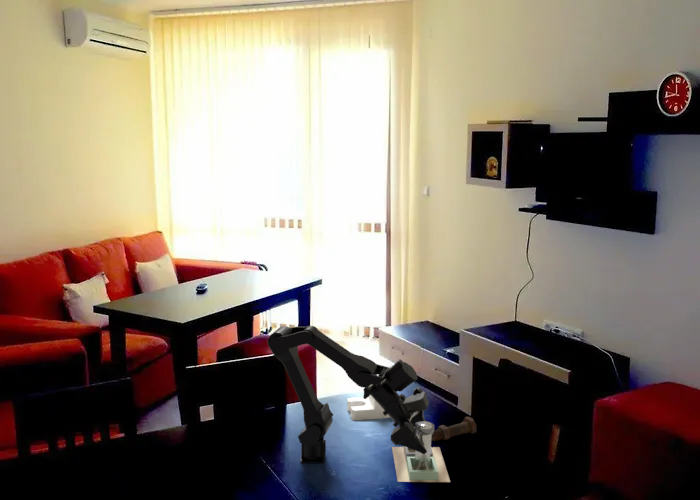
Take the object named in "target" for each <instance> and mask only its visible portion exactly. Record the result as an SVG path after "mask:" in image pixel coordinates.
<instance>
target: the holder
mask: <svg viewBox="0 0 700 500" xmlns="http://www.w3.org/2000/svg"><path fill="white" fill-rule="evenodd" d="M402 447H403V449H404V454H405V459H406V462H407V457H415V453H410V452H409V451H408V450H413V449H411V448H408V447H405V446H402ZM430 457H433V453H432V449H431V451H430Z"/></svg>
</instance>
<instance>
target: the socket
mask: <svg viewBox="0 0 700 500" xmlns="http://www.w3.org/2000/svg"><path fill="white" fill-rule="evenodd" d="M406 465H407V470H408V475H409V480H438V469H437V465H436V462H435V458H434V457H430V466H429V467H431V468H432V470H412V466H415V457H407V462H406Z"/></svg>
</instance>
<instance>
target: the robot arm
mask: <svg viewBox="0 0 700 500" xmlns="http://www.w3.org/2000/svg"><path fill="white" fill-rule="evenodd" d="M302 345H309V346H310V347H312V348H313V349H314V350H316V351H317V352H319V353H320V354H322V355H323V356H325V358H327V359H329V360H330V361H332V362H333V363H335V364H337V366H339V367H341V369H342V370H344V372H345V374H346V375H347V376H348V378H349V379H350V380H351V381H352V382H353V383H354V384H356V386H358V387H360V388H363V396H362V397H363V398H364V399H366V398H367V397H369V396H370V395H371V396H372V397H373V398H374V399H375V400H376V402H377V403H378V404H379V405H380V406H381V407H382V408H383V410H384V411H383V414H384V415H385V416H386V415H387V414H388V415H389V416H390V418H389V419H391V420H392V421H393V423H392V425H393V427H394V429H393V430H392V432H391V434H390V441H391V442H392V444H393V445H394V447H397V446H398V447H403V446H405V447H408V448H411V449H413V450H416V451H418V452H420V453H423V454H425V453H427V450H426V449H425V447H424V446H423V444H422V443H421V441H420V440H419V438H418V437H417V432H416V428H415V423H416V422H419V421H426V419H425V416H424V411H426V410H427V409H428V408H429V407H428V406H429V404H430V401H429V399H428V398H427V397H428V393H426V391H425V390H423V389H422V388H421V387H417V388H416V387H415V388H414V389H413V393H412V394H410V396H407V397H406V396H405V394H403V393H401V392H403V391H404V390H406V389H407V387H409V386H411V384H413V383H414V382H415V381H417V380H418V375H417V371H416V370H415V368H414V367H413V366H412V365H410V364H409V363H407V362H406V361H405V362H404V361H403V360H402V359H398V360H397V361H396V362H395V363H394V364H393V365H391V367H389V366H385V365H382V364H377V363H376V362H375V361H374V360H372V359H369V358H367V357H366V356H364V355H360V354H359V355H358V354H354V353H353V352H351V351H349V350H347V348H345V347H343V346H342V345H340V344H339V343H338V342H337V341H335V340H333V339H332V338H330V336H328V335H326V334H324V333H323V332H322V331H320V330H319V329H318V328H317V327H316V326H314V325H306V326H292V327H289V326H288V325H287V326H286V325H282V326H280V327H278V329H276V330H275V331H274V332H273V333H271V334H270V336H268V339H267V346H268V348H269V350H270V351H271V353H272V354H273V356H274V357H275V358H276V359H277V360H279V361H280V362H281V363H282V364H283V367H284V368H285V371H286V373H287V375H288V379H289V380H290V382H291V385H292V387H293V388H294V391H295V394H296V395H297V398H298V400H299V402H300V404H301V407H302V411H303V422H304V427H303V429H302V431H301V432H300V433H299V435H298V436H297V438H298V441H299V443H300V444H301V445H300V446H301V453H300V463H301V464H304V463H305V464H323V463H324V462H325V458H326V457H327V455H326V453H327V446H326V445H327V444H326V443H327V441H326V439H325V435H326V434H327V432H328V431H329V430H330V428H331V426H332V424H333V422H334V421H333V417H334V414H333V412H332V410H331V409H330V406H329V403H327V402H326V403H324V404H323V403H322V402H321V401H319V399H318V397H317V395H316V392H315V390H314V388H313V386H312V384H311V381H310V379H309V377H308V375H307V372H306V370H305V367H304V365H303V363H302V360H301V358H300V356H299V346H302ZM370 385H371V386H370ZM398 392H400V394H399V393H398Z"/></svg>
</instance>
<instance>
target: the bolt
mask: <svg viewBox="0 0 700 500" xmlns="http://www.w3.org/2000/svg"><path fill="white" fill-rule="evenodd" d="M468 433H470V434H472V435H473V434H476V433H477V423H476V422H475V420H474V419H473V417H470V416H465V417H464V418H463V420H462V422H461V423H460V422H459V423H457V424H452V425H450V426H446V425H444V424H442V425H439V426H438V427H437V429H434V432H433V433H432V437H431V442H437V441H441V440H443V441H447V440H450V438H452V437H453V438H454V437H456V436H461V435H465V434H468Z"/></svg>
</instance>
